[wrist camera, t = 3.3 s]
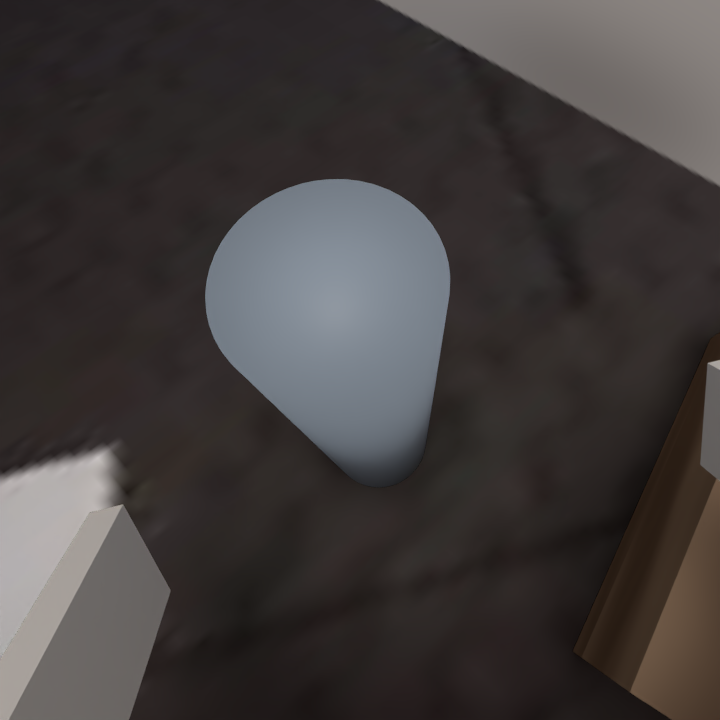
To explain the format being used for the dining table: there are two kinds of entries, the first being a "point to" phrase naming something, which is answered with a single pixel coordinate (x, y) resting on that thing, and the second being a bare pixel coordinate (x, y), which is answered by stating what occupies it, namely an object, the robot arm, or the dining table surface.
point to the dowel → (337, 319)
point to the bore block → (667, 580)
